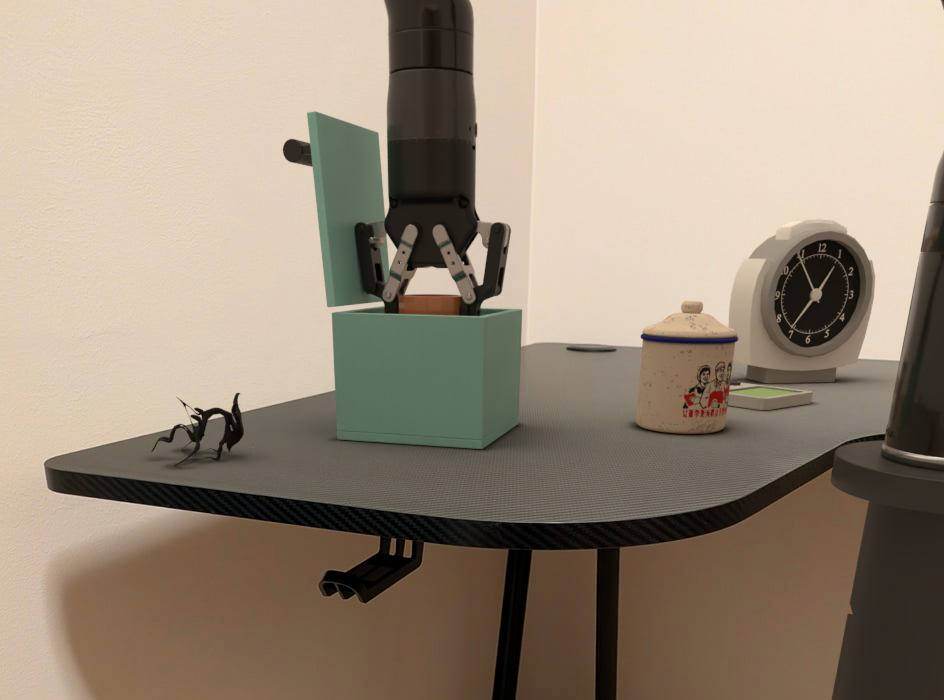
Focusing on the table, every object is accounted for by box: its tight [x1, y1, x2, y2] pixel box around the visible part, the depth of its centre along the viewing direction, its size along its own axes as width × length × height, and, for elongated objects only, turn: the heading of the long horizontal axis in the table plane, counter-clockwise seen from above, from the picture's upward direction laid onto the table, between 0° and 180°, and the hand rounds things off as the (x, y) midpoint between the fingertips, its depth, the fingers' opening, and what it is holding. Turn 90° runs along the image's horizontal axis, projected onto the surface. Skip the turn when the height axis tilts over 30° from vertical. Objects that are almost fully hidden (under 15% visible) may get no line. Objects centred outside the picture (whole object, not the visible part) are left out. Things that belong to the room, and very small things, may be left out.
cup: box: [398, 293, 463, 316], centre depth 83 cm, size 6×6×8 cm
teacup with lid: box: [635, 300, 738, 435], centre depth 88 cm, size 12×9×12 cm
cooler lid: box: [282, 110, 390, 308], centre depth 81 cm, size 15×14×5 cm
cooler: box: [331, 305, 523, 450], centre depth 84 cm, size 14×14×11 cm
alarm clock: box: [728, 218, 876, 384], centre depth 122 cm, size 18×8×20 cm, turn 104°
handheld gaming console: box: [728, 379, 814, 411], centre depth 108 cm, size 10×2×15 cm
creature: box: [150, 392, 245, 467], centre depth 73 cm, size 8×5×8 cm
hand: (432, 346), depth 83 cm, fingers closed on cup, 6 cm apart
